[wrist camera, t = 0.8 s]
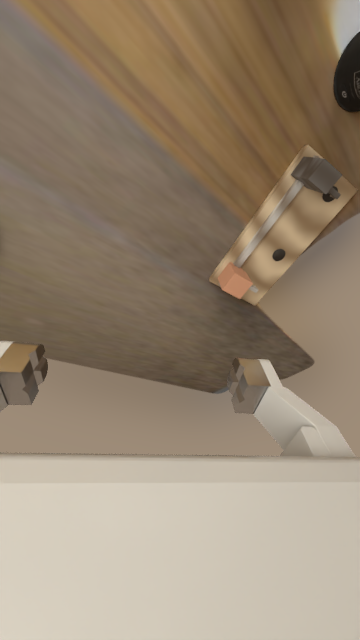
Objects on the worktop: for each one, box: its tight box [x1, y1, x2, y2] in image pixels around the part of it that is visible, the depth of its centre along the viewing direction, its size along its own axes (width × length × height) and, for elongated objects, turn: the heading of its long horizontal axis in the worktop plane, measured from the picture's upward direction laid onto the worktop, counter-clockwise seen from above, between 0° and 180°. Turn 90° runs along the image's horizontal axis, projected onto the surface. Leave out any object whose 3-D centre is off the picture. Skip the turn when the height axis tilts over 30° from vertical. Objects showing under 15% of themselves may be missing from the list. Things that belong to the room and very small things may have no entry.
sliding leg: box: [218, 262, 258, 299], centre depth 50 cm, size 4×9×6 cm, turn 60°
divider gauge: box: [209, 145, 358, 305], centre depth 46 cm, size 28×13×8 cm, turn 149°
